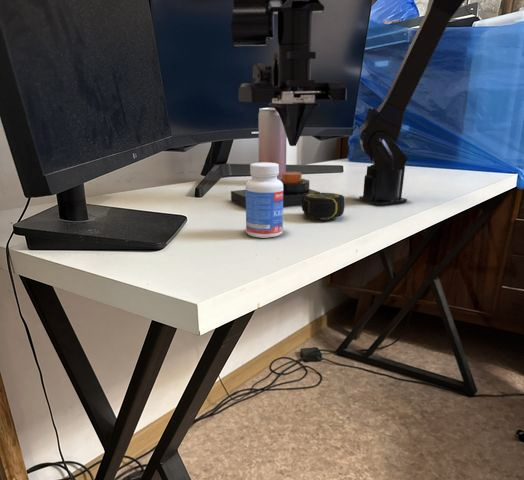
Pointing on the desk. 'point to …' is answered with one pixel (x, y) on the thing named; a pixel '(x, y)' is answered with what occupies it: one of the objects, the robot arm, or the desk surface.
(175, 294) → the desk surface
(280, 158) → the beverage can
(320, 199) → the tape measure
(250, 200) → the pill bottle
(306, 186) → the scale
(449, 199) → the desk surface
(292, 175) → the button
